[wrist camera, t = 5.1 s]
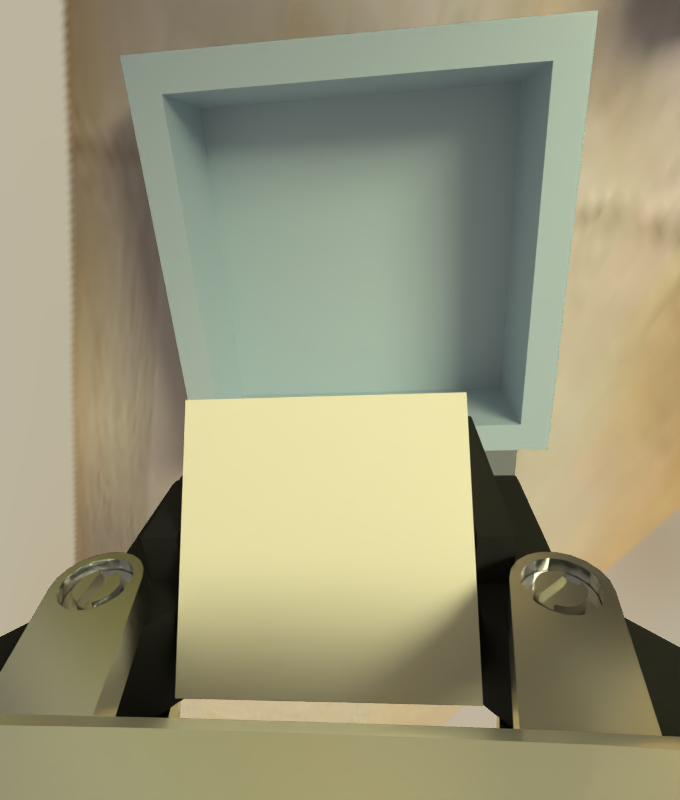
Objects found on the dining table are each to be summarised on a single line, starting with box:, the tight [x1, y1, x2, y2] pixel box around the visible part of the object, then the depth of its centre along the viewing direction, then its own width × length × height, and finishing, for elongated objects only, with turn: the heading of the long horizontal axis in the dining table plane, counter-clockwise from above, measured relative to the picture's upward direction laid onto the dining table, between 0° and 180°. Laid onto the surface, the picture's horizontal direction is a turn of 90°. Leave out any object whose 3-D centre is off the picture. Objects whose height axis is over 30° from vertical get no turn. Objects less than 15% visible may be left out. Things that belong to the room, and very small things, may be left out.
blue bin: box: [120, 10, 598, 451], centre depth 21 cm, size 15×15×4 cm
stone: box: [175, 392, 483, 706], centre depth 10 cm, size 4×4×6 cm
